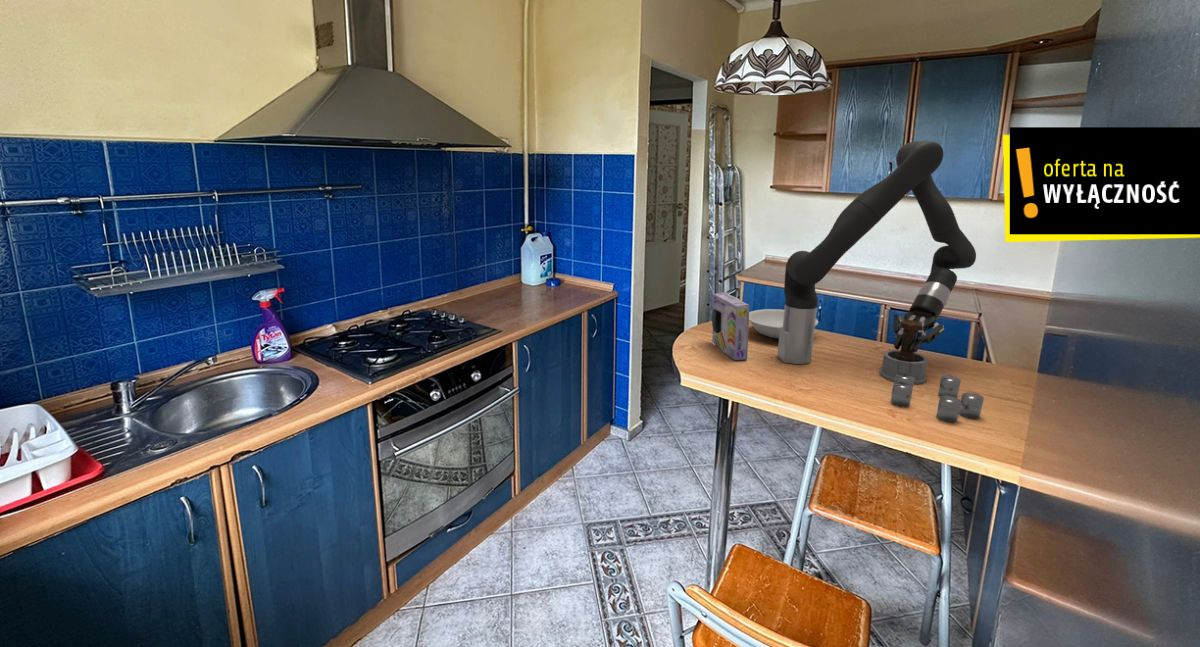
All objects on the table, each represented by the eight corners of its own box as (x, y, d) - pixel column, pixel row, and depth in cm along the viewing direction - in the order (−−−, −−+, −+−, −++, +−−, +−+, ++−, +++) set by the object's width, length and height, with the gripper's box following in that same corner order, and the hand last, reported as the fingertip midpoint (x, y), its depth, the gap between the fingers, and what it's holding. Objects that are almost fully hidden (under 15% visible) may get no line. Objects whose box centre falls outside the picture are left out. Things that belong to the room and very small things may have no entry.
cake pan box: (709, 342, 191) (712, 291, 186) (723, 341, 192) (726, 290, 187) (732, 362, 173) (736, 305, 168) (748, 361, 174) (752, 305, 169)
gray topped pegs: (915, 422, 134) (918, 403, 133) (876, 390, 152) (878, 373, 151) (995, 422, 134) (1000, 403, 133) (947, 390, 153) (950, 373, 151)
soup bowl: (738, 325, 210) (739, 308, 209) (803, 326, 210) (805, 309, 208) (752, 346, 187) (754, 327, 186) (826, 347, 187) (828, 328, 185)
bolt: (910, 370, 165) (918, 320, 160) (917, 376, 160) (926, 325, 156) (889, 369, 165) (897, 319, 161) (895, 375, 160) (904, 324, 156)
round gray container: (892, 384, 157) (895, 363, 155) (871, 368, 168) (874, 349, 167) (935, 384, 157) (939, 363, 155) (911, 368, 168) (914, 349, 167)
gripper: (902, 289, 166) (875, 336, 162) (954, 298, 155) (927, 349, 151) (907, 303, 170) (881, 350, 167) (959, 314, 160) (932, 364, 156)
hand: (903, 349), depth 159 cm, fingers open, 3 cm apart
